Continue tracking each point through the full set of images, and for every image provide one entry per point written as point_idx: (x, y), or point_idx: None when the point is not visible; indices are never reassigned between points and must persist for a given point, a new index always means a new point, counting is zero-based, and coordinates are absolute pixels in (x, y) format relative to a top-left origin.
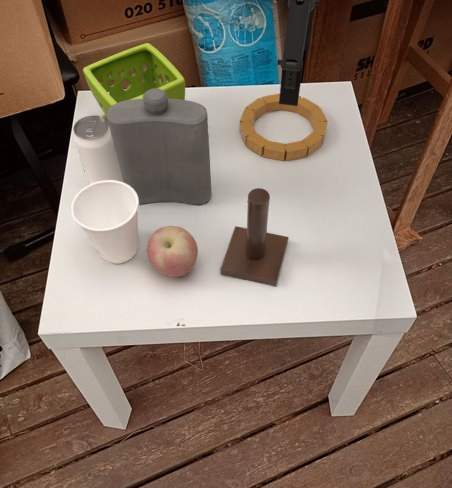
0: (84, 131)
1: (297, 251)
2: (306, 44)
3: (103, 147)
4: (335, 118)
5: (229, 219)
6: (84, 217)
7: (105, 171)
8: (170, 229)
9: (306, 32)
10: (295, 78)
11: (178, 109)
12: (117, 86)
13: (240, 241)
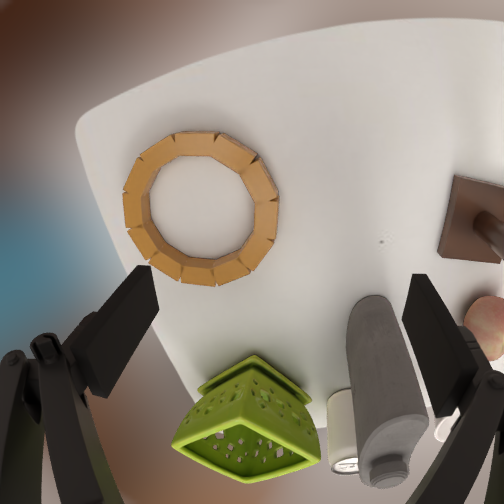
0: (357, 467)
1: (466, 159)
2: (143, 282)
3: None
4: (144, 120)
5: (415, 263)
6: (451, 418)
7: None
8: (494, 349)
9: (127, 309)
10: (483, 353)
11: (393, 445)
12: (228, 439)
13: (466, 246)
